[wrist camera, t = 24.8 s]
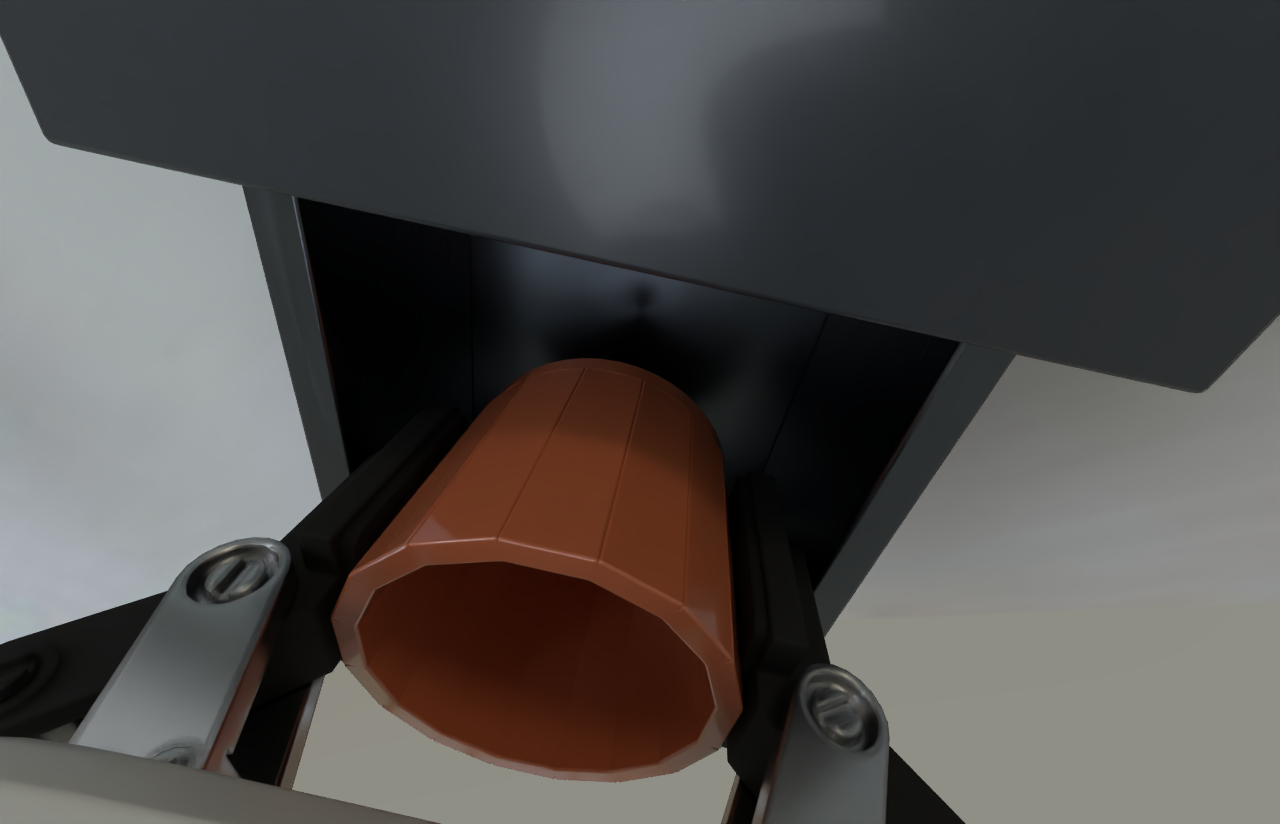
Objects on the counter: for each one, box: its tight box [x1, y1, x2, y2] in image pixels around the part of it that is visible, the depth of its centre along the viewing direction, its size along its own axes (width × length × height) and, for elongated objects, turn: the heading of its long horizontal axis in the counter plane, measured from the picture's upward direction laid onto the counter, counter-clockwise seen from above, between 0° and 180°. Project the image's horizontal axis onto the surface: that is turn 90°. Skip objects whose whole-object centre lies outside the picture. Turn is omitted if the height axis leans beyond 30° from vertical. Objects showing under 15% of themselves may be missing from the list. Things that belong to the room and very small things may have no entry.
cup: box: [331, 358, 743, 782], centre depth 9 cm, size 6×6×5 cm
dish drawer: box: [242, 185, 1016, 637], centre depth 12 cm, size 19×12×7 cm, turn 170°
